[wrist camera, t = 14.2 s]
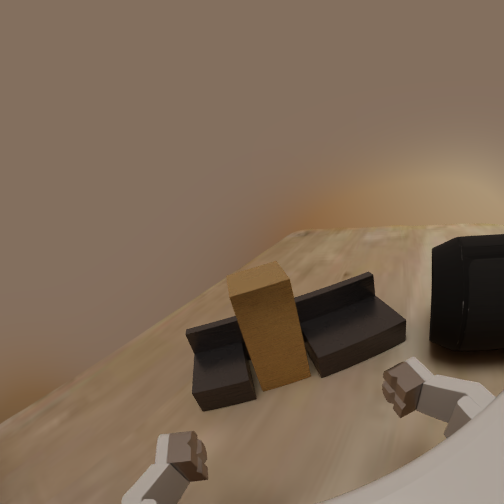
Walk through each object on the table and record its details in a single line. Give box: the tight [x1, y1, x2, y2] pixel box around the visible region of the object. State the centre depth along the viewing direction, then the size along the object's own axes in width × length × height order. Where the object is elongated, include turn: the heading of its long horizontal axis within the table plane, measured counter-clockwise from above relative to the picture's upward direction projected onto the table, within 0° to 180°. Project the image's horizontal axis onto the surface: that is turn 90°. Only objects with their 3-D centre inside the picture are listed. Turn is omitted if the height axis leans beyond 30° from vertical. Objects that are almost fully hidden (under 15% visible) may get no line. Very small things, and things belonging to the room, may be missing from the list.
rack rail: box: [186, 272, 406, 411], centre depth 25 cm, size 7×20×5 cm, turn 98°
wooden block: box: [226, 261, 311, 392], centre depth 23 cm, size 4×4×10 cm
